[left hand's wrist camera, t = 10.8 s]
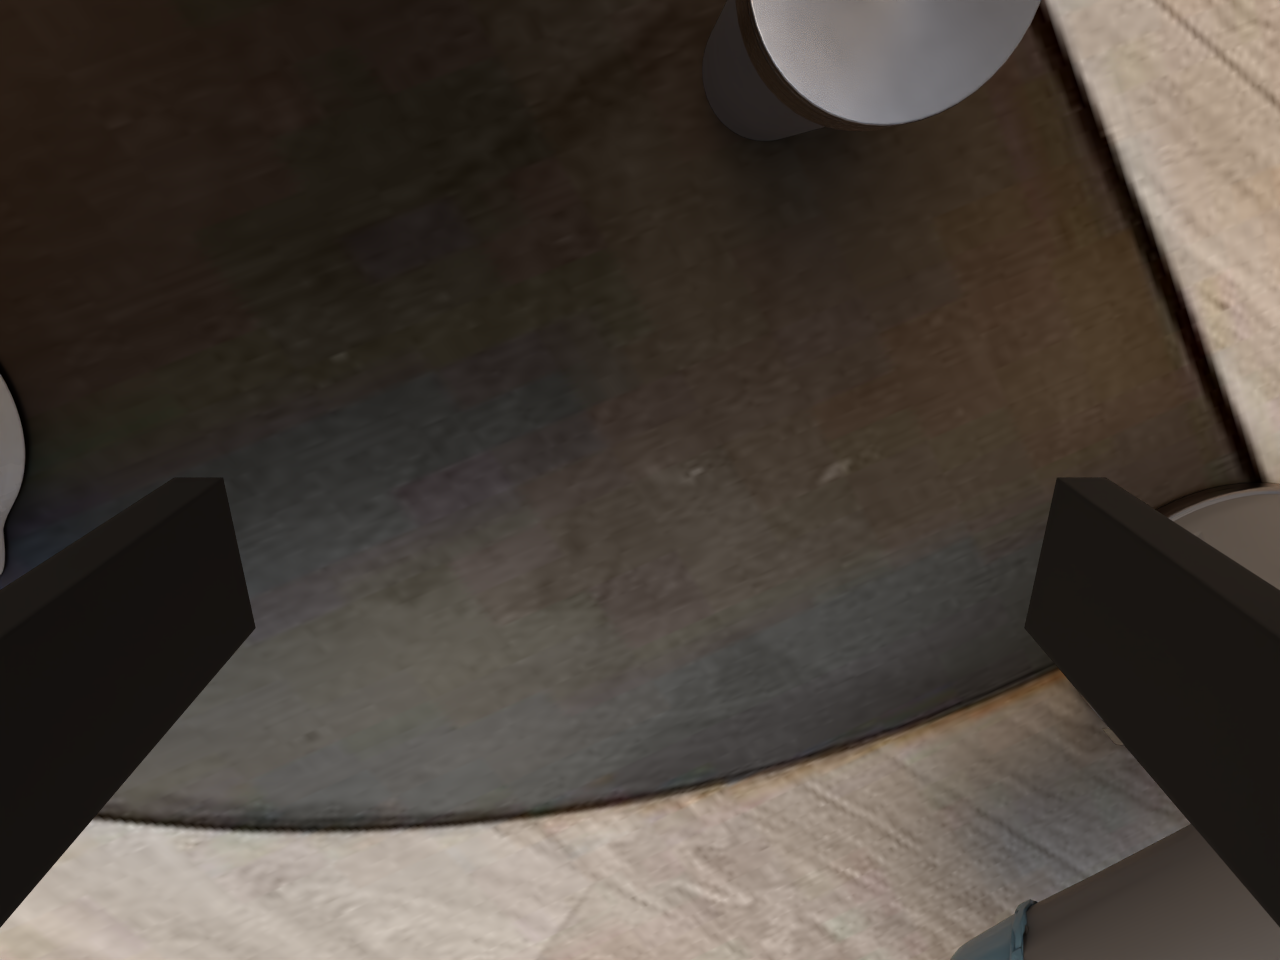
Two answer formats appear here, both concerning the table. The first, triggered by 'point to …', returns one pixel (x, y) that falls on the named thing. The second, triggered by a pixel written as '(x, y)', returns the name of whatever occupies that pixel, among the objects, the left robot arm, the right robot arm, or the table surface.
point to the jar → (744, 87)
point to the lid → (879, 54)
